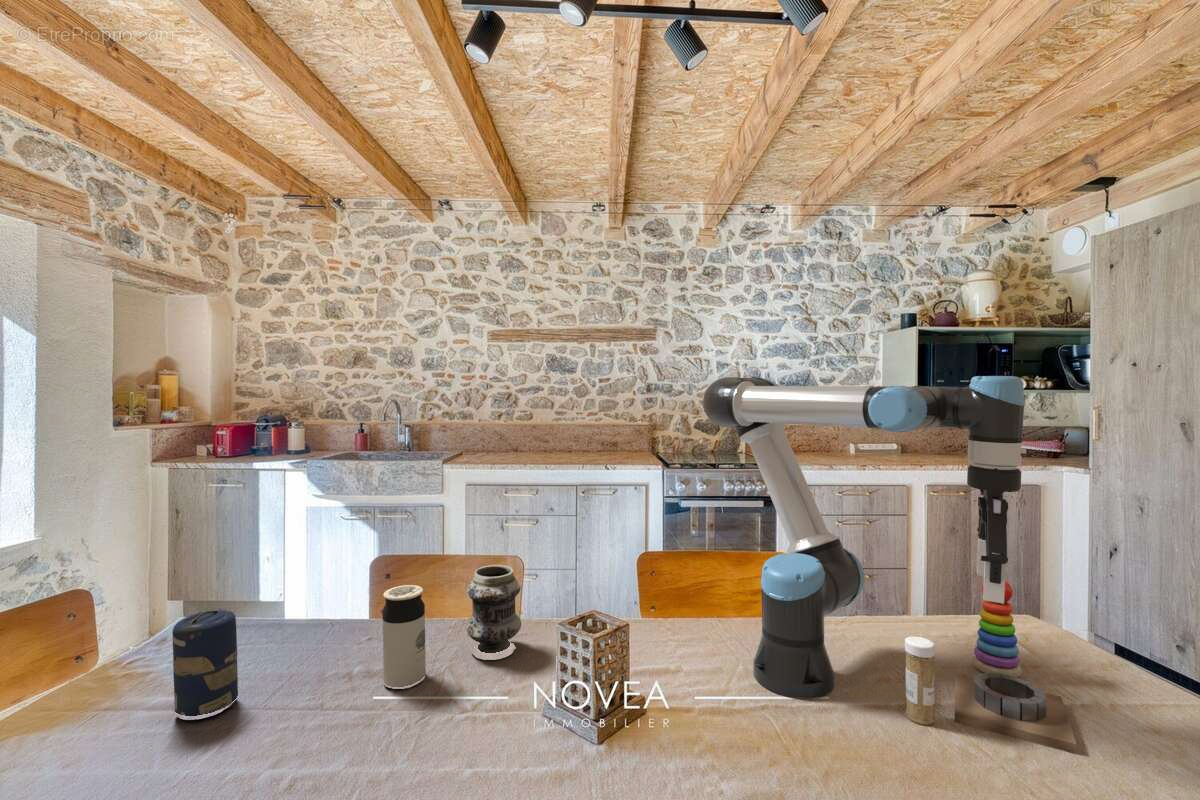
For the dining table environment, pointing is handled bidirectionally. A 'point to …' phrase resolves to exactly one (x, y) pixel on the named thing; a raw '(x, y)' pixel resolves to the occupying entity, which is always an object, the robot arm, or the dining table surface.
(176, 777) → the dining table surface
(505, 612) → the apothecary jar
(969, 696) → the base board
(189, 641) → the canister
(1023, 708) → the collar
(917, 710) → the sprinkles bottle
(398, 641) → the travel mug
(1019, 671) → the stacking toy
